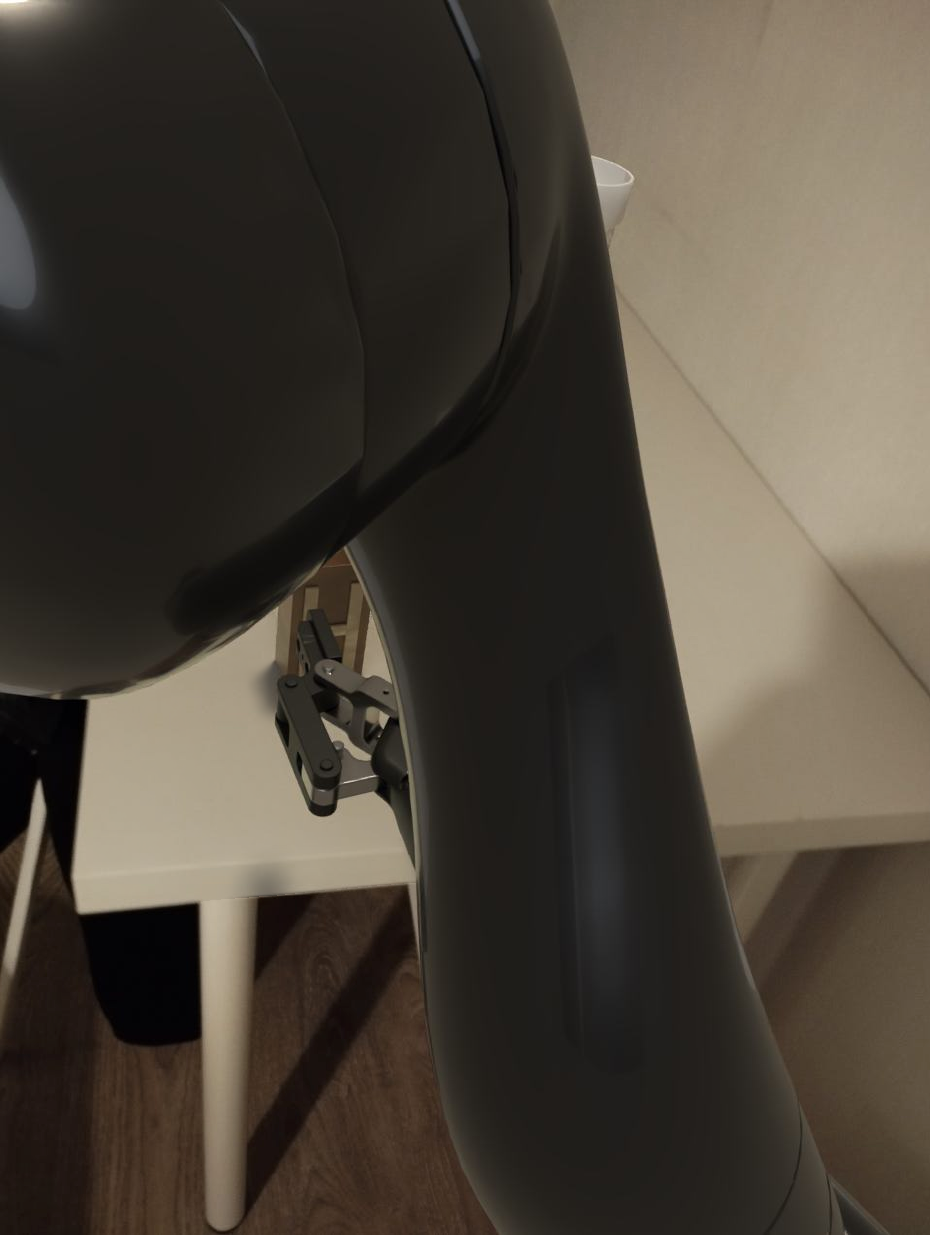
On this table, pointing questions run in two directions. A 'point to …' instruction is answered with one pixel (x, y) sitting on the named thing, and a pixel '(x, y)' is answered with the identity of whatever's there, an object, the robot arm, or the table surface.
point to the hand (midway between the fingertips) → (397, 612)
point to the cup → (612, 192)
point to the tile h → (343, 610)
